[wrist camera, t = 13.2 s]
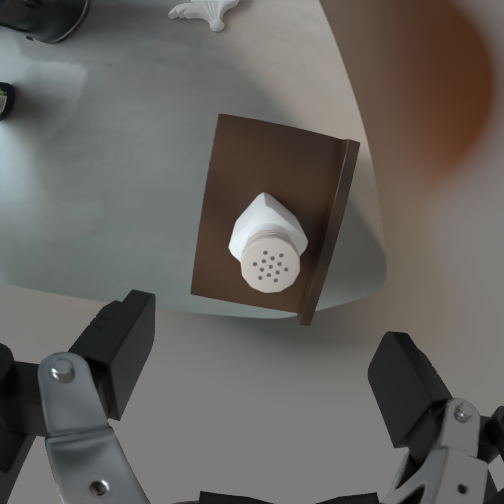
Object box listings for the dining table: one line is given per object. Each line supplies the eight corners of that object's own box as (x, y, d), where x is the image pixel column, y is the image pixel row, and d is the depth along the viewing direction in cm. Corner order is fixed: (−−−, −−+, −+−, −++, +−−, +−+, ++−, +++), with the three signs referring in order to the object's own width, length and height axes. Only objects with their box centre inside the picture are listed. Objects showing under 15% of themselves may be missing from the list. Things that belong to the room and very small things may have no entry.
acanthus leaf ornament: (169, 19, 27) (165, 13, 25) (196, -21, 25) (193, -28, 23) (224, 35, 28) (222, 29, 26) (250, -7, 26) (250, -14, 24)
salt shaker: (263, 188, 24) (266, 214, 15) (300, 219, 25) (323, 262, 16) (231, 224, 25) (217, 270, 16) (268, 254, 26) (273, 312, 17)
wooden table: (230, 123, 32) (215, 110, 20) (325, 143, 32) (360, 142, 21) (207, 255, 37) (185, 304, 25) (295, 271, 37) (309, 326, 26)
